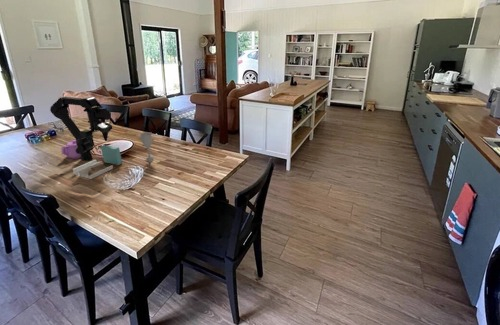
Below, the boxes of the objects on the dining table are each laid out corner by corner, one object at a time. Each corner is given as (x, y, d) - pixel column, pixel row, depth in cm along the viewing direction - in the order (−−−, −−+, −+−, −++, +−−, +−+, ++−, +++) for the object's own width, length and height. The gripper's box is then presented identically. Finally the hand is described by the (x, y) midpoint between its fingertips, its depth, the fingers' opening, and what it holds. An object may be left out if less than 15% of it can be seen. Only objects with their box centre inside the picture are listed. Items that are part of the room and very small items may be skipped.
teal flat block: (118, 165, 168) (115, 149, 164) (104, 162, 173) (100, 146, 168) (122, 163, 171) (118, 147, 166) (108, 160, 175) (104, 144, 171)
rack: (74, 176, 156) (72, 169, 154) (96, 166, 169) (95, 159, 167) (91, 180, 151) (89, 173, 150) (113, 169, 164) (111, 163, 162)
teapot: (98, 152, 191) (95, 137, 186) (70, 162, 175) (65, 146, 170) (87, 149, 197) (83, 134, 192) (58, 158, 181) (53, 143, 176)
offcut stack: (88, 175, 155) (86, 169, 154) (103, 168, 163) (101, 163, 162) (94, 176, 153) (92, 170, 152) (108, 169, 162) (107, 164, 160)
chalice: (143, 162, 174) (139, 135, 167) (144, 158, 180) (140, 132, 173) (155, 161, 176) (151, 134, 168) (156, 157, 182) (152, 131, 174)
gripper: (89, 124, 153) (96, 149, 159) (116, 116, 168) (121, 140, 175) (76, 122, 157) (82, 147, 163) (103, 114, 172) (108, 138, 179)
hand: (99, 143), depth 170 cm, fingers open, 9 cm apart
